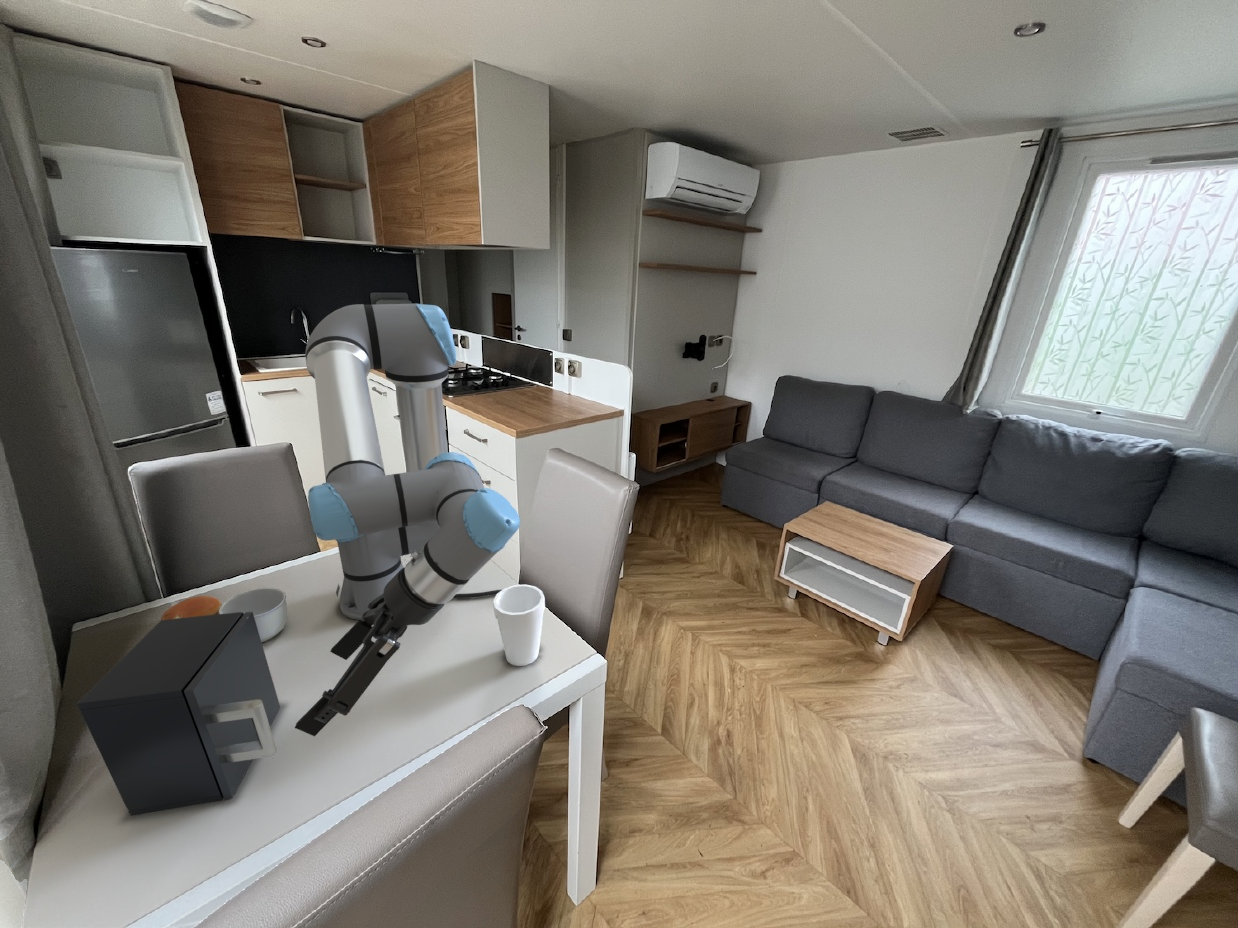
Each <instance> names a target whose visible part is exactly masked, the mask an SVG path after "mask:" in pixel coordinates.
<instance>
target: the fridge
mask: <svg viewBox="0 0 1238 928" xmlns="http://www.w3.org/2000/svg"><path fill="white" fill-rule="evenodd" d="M243 615H244V613H243V612H237V613H227V614H217V615H207V616H197V617H187V618H178V619H168V620H161V619H160V620H159V622H158V623H157V624H156V625H154V627H153V628H151V630H149V632H147V634H145V635H144V636H143V637H142V639H140V640H139V641H138V642H137V643H136V644H135V646H133V648H131V649H130V650H129V651H128V652H127V653H126V654H125V655H124V656H123V657H122V659H120V660H119V661H118V662H117V663H116V664H115V665H114V666H113V667H112V668H111V669H110V670H109V671H108V672H107V673H106V674H104V676H103V677H102V678H101V679H100V680H99V681H98V682H97V683H96V684H95V685H94V686H93V687H91V689H90V690H89V691H88V692H87V693H86V694H85V695H84V696H83V697H82V698H81V699H80V700H79V701H77V703H76V706H77V708H78V710H79V712H80V713H81V716H82V718H83V720H84V723H85V724H86V726H87V728H88V730H89V731H88V732H90V735H91V738H92V739H93V741H94V742H95V745H96V747H97V749H98V751H99V753H100V756H101V758H102V761H103V762H104V764H105V766H106V768H107V770H108V773H109V774H110V776H111V779H112V780H113V783H114V784H115V787H116V789H117V791H118V793H119V795H120V798H121V799H122V801H123V804H124V805H125V808H126V810H127V811H128V813H129V816H130V817H132V816H138V815H144V814H145V815H146V814H149V813H155V812H163V811H167V810H168V811H169V810H174V809H181V808H186V807H192V806H198V805H204V804H209V803H216V802H221V801H223V800H225V799H224V797H223V794H222V791H221V789H220V786H219V784H218V781H217V778H216V776H215V773H214V770H213V768H212V765H211V762H210V760H209V757H208V754H207V752H206V749H205V746H204V744H203V741H202V738H201V736H200V733H199V730H198V728H197V725H196V722H195V720H194V717H193V714H192V712H191V709H190V706H189V704H188V701H187V698H186V696H185V693H184V690H185V689H186V688H187V687H188V685H189V684H190V683H191V681H192V680H193V679H194V678H195V676H196V675H197V674H198V672H199V671H200V670H201V669H202V667H203V666H204V665H205V664H206V662H207V661H208V660H209V658H210V657H211V656H212V655H213V653H214V652H215V651H216V649H217V648H218V647H219V646H220V644H221V643H222V642H223V640H224V639H225V638H226V637H227V635H228V634H229V633H230V632H231V630H232V629H233V628H234V626H235V625H236V624H237V623H238V621H239V620H240V619H241V617H242V616H243Z"/></svg>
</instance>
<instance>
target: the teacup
mask: <svg viewBox="0 0 1238 928" xmlns="http://www.w3.org/2000/svg"><path fill="white" fill-rule="evenodd" d="M221 604H222V605H221V607H220V609H219V614H227V613H237V612H243V613H244V614H245V612H253V615H254V618H255V622H256V625H257V629H258V632H259V636H260V639H261V642H262V643H264V642H267V641H269V640H271V639H272V638H274V637H276V636H277V635H278V634H279V633H280V632H281V631H283V629H284V628H285V627H286V625H287V622H288V617H289V614H288V613H289V612H288V605H287V594H286V592H285V591H284V590H282V589H280V588H275V587H259V588H254V589H249V590H246V591H243V592H240V593H238V594H236V595H233V596H232V597H230V598H228V599H227V600H226V601H224V602H223V603H221Z"/></svg>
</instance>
